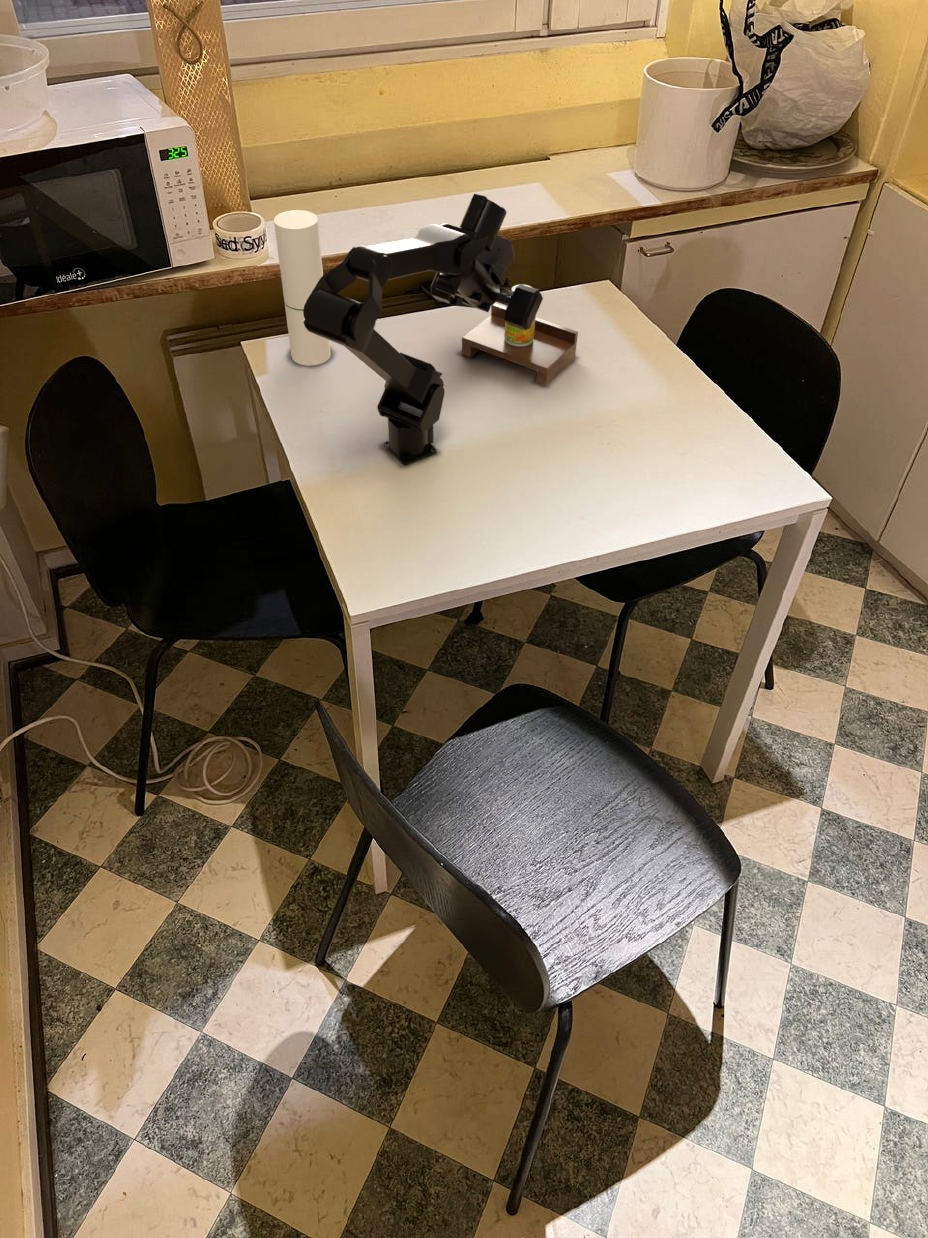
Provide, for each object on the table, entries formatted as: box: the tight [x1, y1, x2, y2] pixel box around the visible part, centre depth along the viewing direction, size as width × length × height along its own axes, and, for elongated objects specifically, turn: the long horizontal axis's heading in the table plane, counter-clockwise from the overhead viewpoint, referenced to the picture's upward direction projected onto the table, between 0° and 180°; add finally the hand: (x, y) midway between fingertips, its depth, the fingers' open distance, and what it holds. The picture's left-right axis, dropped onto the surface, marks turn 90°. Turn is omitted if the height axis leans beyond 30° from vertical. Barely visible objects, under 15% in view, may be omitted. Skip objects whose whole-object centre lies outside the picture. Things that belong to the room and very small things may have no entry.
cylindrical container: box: [273, 209, 332, 367], centre depth 159 cm, size 7×7×25 cm
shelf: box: [461, 302, 579, 386], centre depth 167 cm, size 11×18×6 cm, turn 57°
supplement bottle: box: [504, 284, 537, 347], centre depth 163 cm, size 5×5×10 cm
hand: (502, 312), depth 156 cm, fingers open, 9 cm apart
